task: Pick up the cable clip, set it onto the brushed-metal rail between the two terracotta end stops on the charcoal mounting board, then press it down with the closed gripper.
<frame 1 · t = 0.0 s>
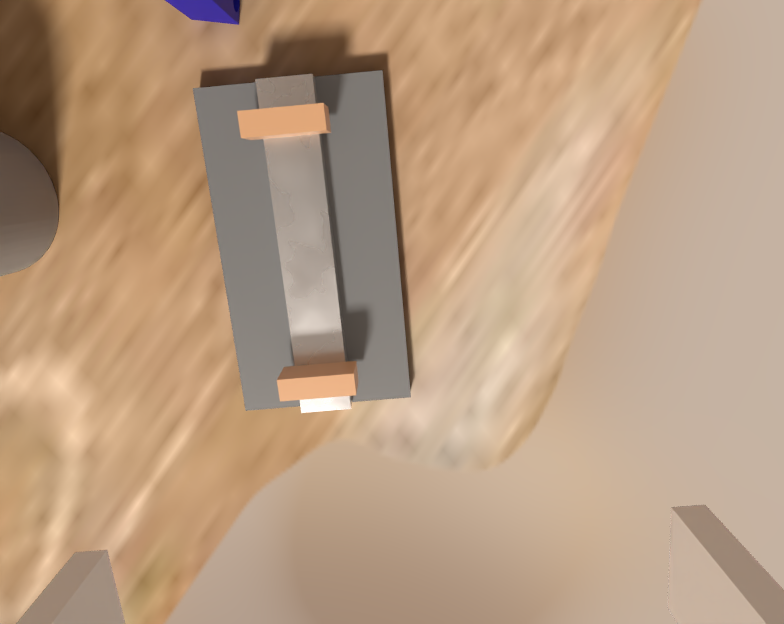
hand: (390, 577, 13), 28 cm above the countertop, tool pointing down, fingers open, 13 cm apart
rail mount: (311, 250, 40), on the countertop
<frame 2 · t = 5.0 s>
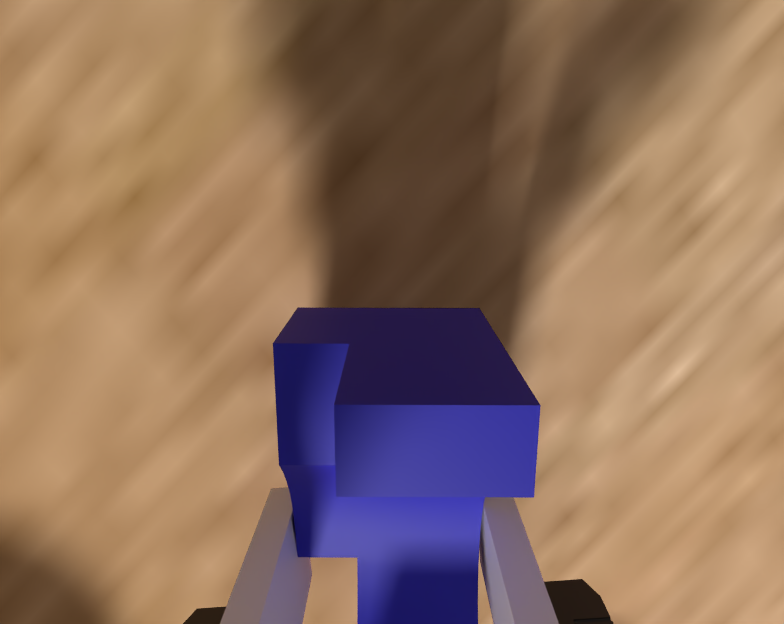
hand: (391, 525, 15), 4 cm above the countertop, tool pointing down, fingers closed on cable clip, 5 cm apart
cable clip: (388, 516, 16), point 4 cm above the countertop, touching gripper
when the fingers open (3 cm above the countertop, at t = 9.6 s): cable clip stays where it is, resting on rail mount.
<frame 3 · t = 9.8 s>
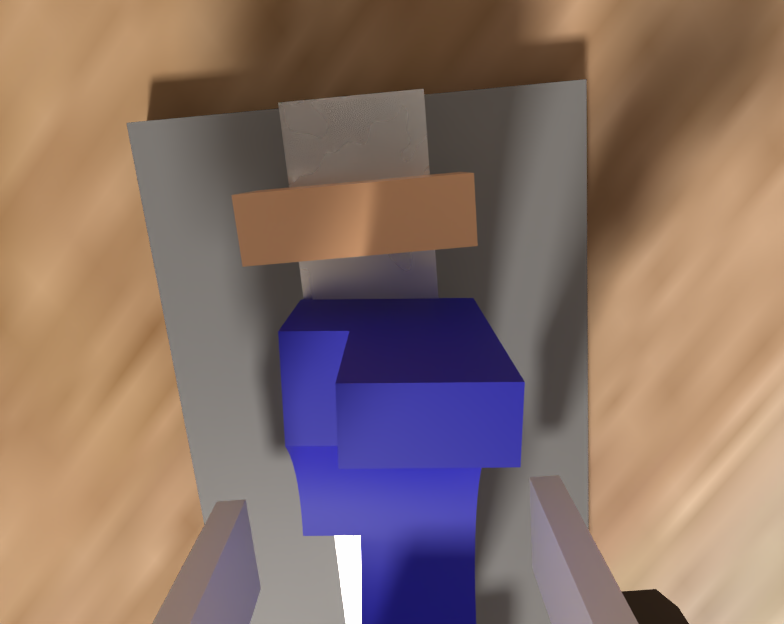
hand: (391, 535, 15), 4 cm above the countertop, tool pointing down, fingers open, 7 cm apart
cable clip: (389, 498, 16), point 2 cm above the countertop, touching rail mount
rail mount: (391, 460, 19), on the countertop
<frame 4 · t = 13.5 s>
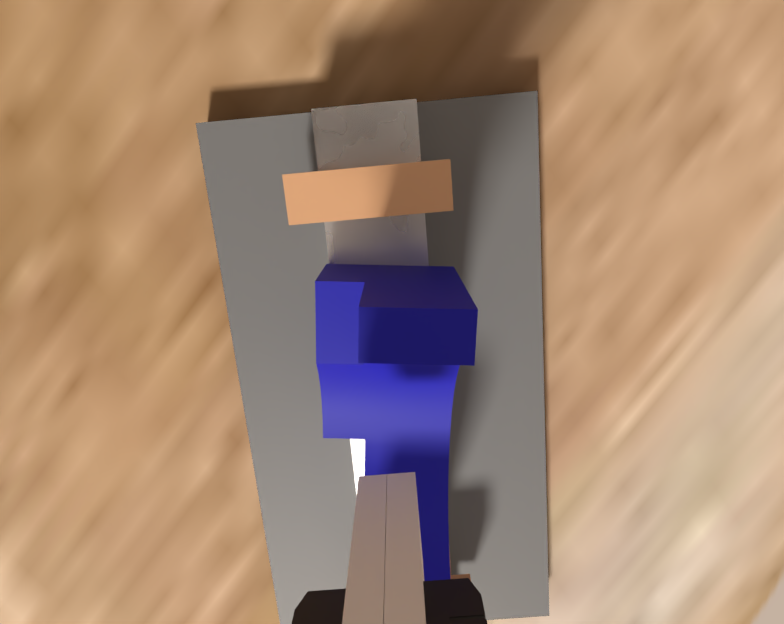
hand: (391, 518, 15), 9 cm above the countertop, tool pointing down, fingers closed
cable clip: (386, 418, 22), point 2 cm above the countertop, touching rail mount
rail mount: (393, 386, 24), on the countertop
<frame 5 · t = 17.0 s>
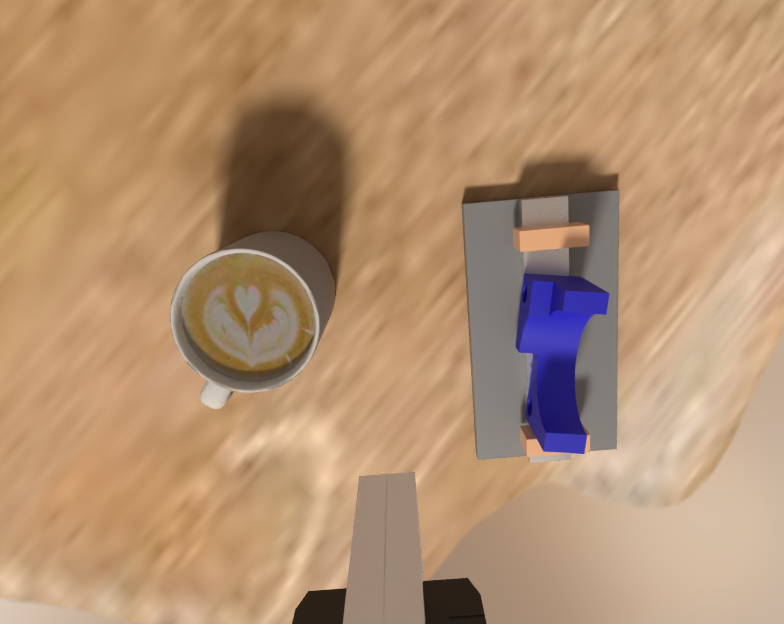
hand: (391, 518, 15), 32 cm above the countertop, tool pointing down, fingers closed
coffee mug: (263, 305, 48), on the countertop
cable clip: (542, 347, 46), point 2 cm above the countertop, touching rail mount
rail mount: (540, 329, 48), on the countertop
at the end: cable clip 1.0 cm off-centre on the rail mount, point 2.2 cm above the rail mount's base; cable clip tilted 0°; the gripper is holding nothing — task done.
